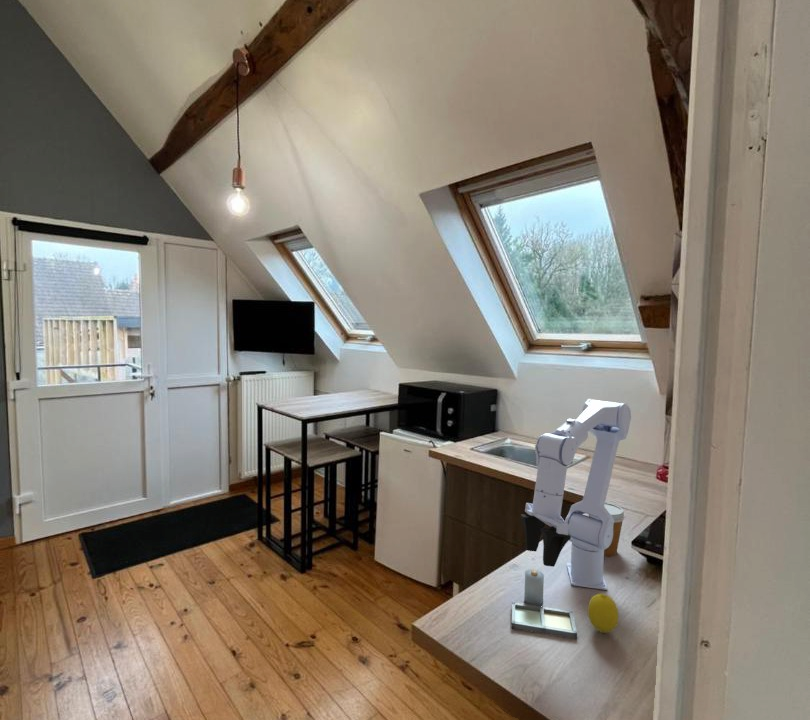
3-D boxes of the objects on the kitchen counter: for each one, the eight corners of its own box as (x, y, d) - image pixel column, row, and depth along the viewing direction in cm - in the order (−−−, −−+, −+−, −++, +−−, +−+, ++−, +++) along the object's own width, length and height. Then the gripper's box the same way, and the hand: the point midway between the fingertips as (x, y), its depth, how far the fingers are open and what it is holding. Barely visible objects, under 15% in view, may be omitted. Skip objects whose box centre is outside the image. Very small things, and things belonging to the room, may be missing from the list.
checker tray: (511, 607, 95) (511, 602, 95) (572, 616, 92) (572, 611, 92) (511, 628, 88) (511, 622, 88) (576, 639, 85) (577, 633, 85)
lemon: (608, 622, 90) (610, 585, 90) (622, 641, 85) (624, 602, 84) (582, 623, 90) (583, 586, 90) (595, 642, 85) (596, 603, 84)
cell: (524, 595, 99) (524, 565, 99) (542, 598, 98) (543, 568, 98) (524, 606, 95) (525, 575, 95) (543, 609, 95) (544, 578, 94)
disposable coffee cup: (631, 555, 117) (633, 512, 116) (603, 561, 114) (605, 517, 113) (604, 539, 126) (606, 499, 125) (577, 544, 123) (579, 503, 122)
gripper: (516, 481, 97) (507, 542, 96) (548, 498, 83) (538, 570, 82) (545, 485, 99) (536, 545, 98) (582, 503, 84) (572, 574, 83)
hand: (539, 557), depth 90 cm, fingers open, 7 cm apart
